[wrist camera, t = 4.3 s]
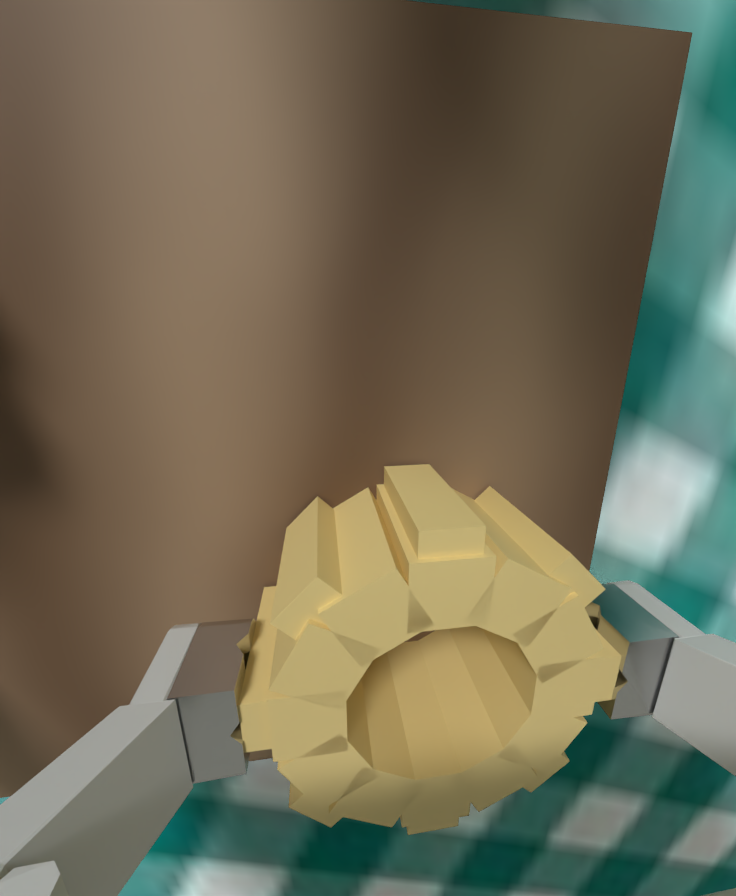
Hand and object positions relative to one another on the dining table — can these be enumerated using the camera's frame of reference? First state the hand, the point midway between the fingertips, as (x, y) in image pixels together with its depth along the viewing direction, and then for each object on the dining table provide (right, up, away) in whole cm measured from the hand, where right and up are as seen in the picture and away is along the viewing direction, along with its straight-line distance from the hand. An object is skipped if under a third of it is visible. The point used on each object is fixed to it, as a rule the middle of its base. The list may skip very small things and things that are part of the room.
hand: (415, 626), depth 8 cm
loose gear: (0, 0, +1) cm, 1 cm away
